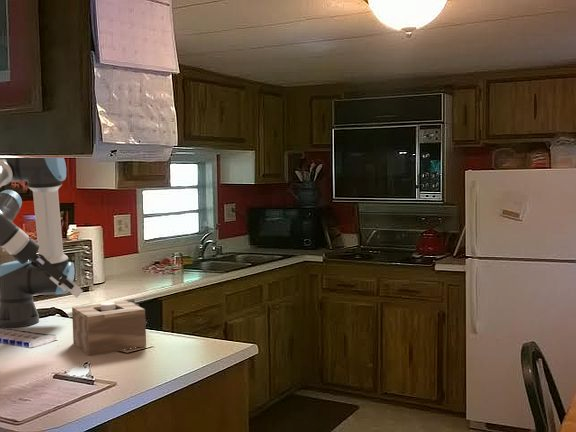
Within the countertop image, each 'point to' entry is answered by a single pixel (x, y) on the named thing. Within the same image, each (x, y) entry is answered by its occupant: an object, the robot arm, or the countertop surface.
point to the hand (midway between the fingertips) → (73, 291)
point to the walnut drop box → (108, 328)
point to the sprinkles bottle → (107, 306)
